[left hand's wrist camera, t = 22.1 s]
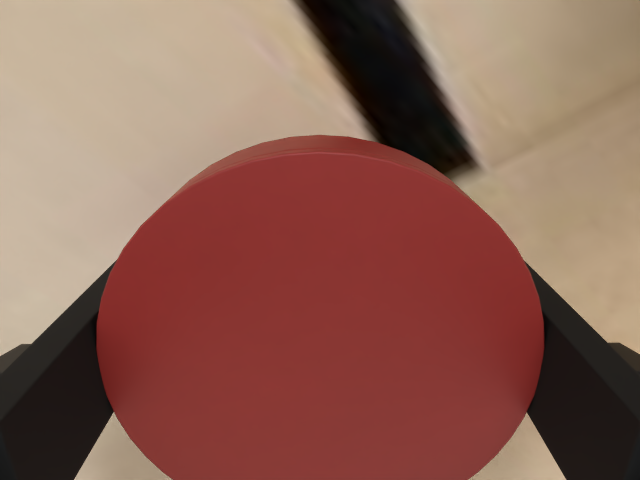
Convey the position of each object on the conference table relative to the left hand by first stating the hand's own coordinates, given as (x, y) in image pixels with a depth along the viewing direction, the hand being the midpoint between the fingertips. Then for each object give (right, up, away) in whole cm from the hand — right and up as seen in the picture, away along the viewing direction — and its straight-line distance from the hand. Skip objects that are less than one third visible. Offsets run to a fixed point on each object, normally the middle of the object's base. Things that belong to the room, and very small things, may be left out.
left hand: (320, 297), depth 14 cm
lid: (0, -1, -3) cm, 3 cm away
